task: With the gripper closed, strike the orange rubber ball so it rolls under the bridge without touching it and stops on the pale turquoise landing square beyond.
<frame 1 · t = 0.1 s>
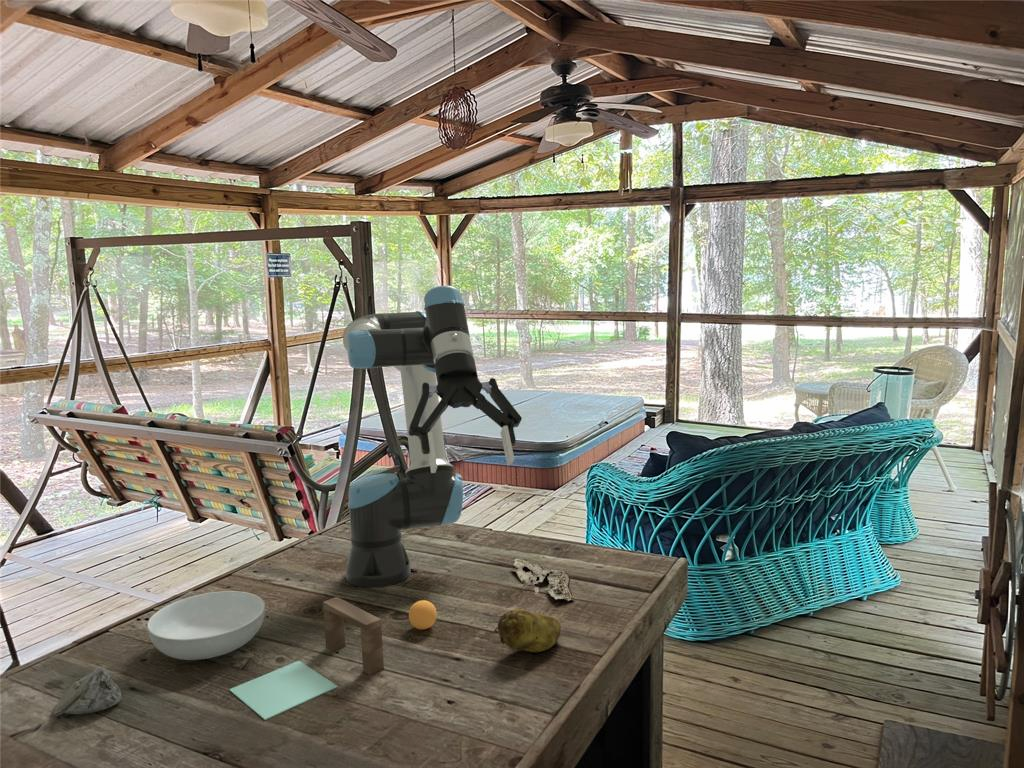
hand: (473, 466, 128), 36 cm above the table, tool tilted 35°, fingers open, 13 cm apart
ball: (422, 614, 146), on the table
potato: (531, 650, 137), on the table
serving bowl: (210, 647, 142), on the table
driftwood: (541, 585, 167), on the table
grey rock: (91, 706, 123), on the table
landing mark: (283, 688, 126), on the table
bridge: (354, 658, 136), on the table
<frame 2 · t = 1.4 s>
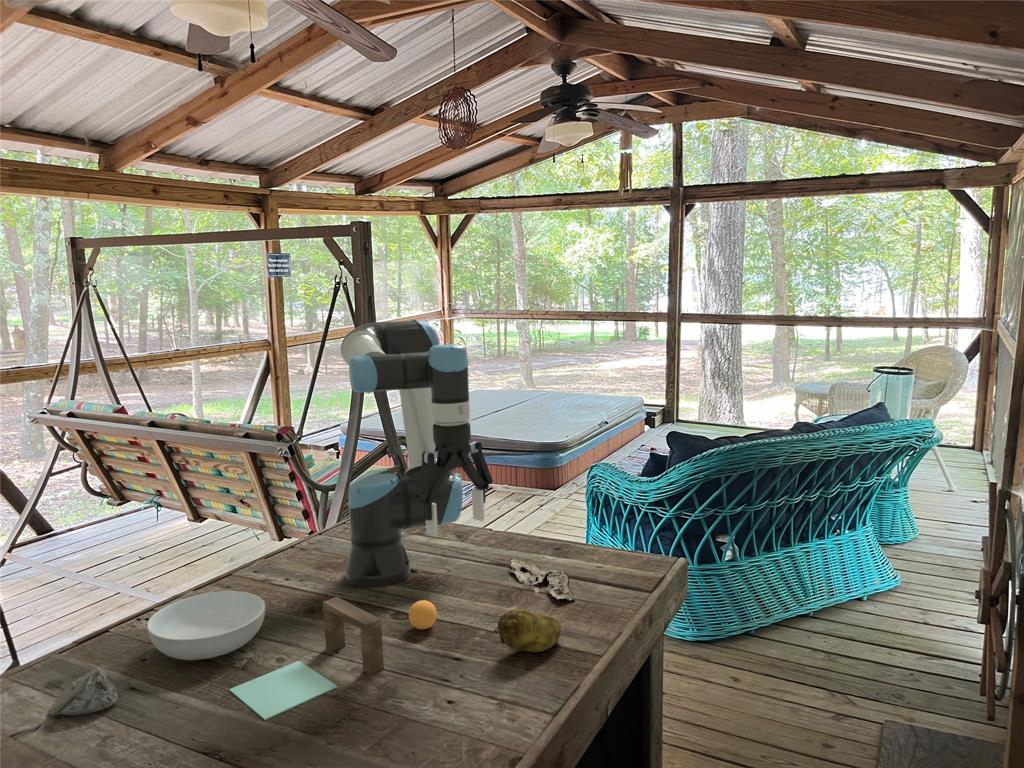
hand: (456, 527, 151), 18 cm above the table, tool pointing down, fingers open, 12 cm apart
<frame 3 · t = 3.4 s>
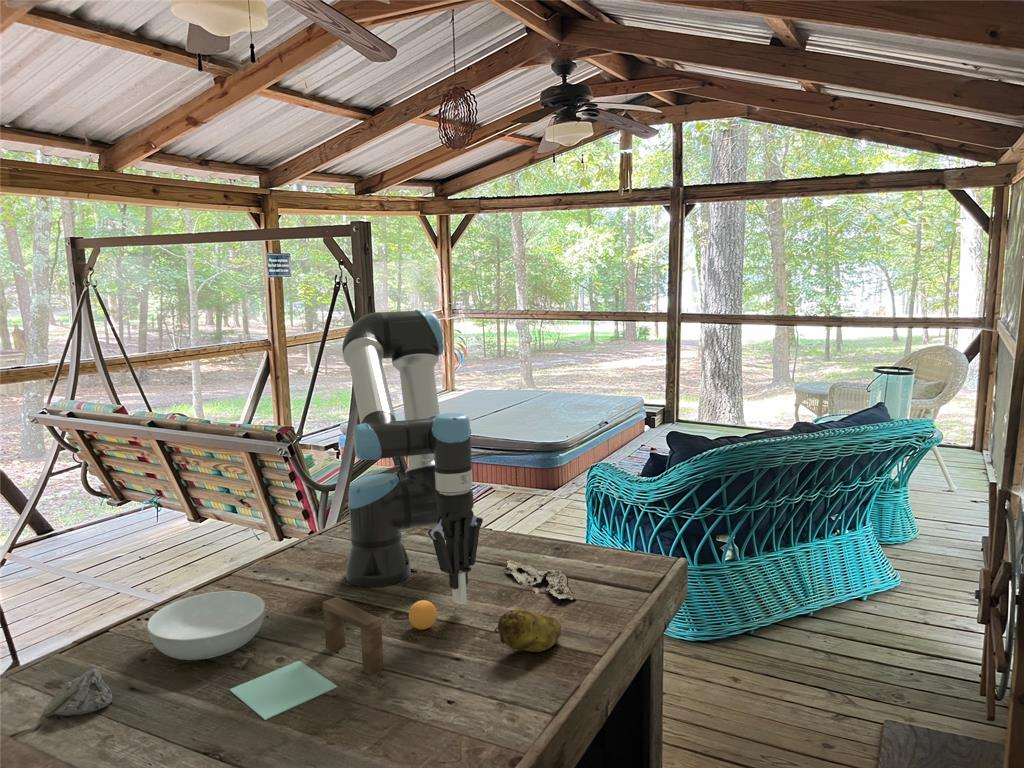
hand: (459, 601, 153), 2 cm above the table, tool pointing down, fingers closed
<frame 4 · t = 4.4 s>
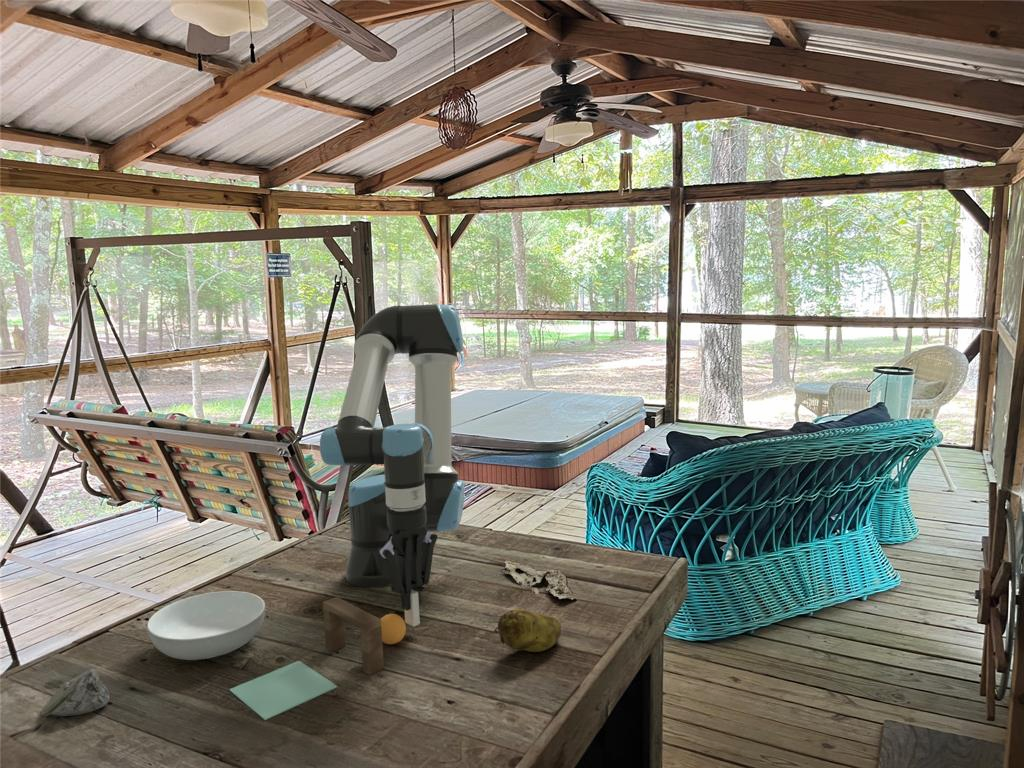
hand: (412, 623, 144), 2 cm above the table, tool pointing down, fingers closed
ball: (391, 629, 141), on the table
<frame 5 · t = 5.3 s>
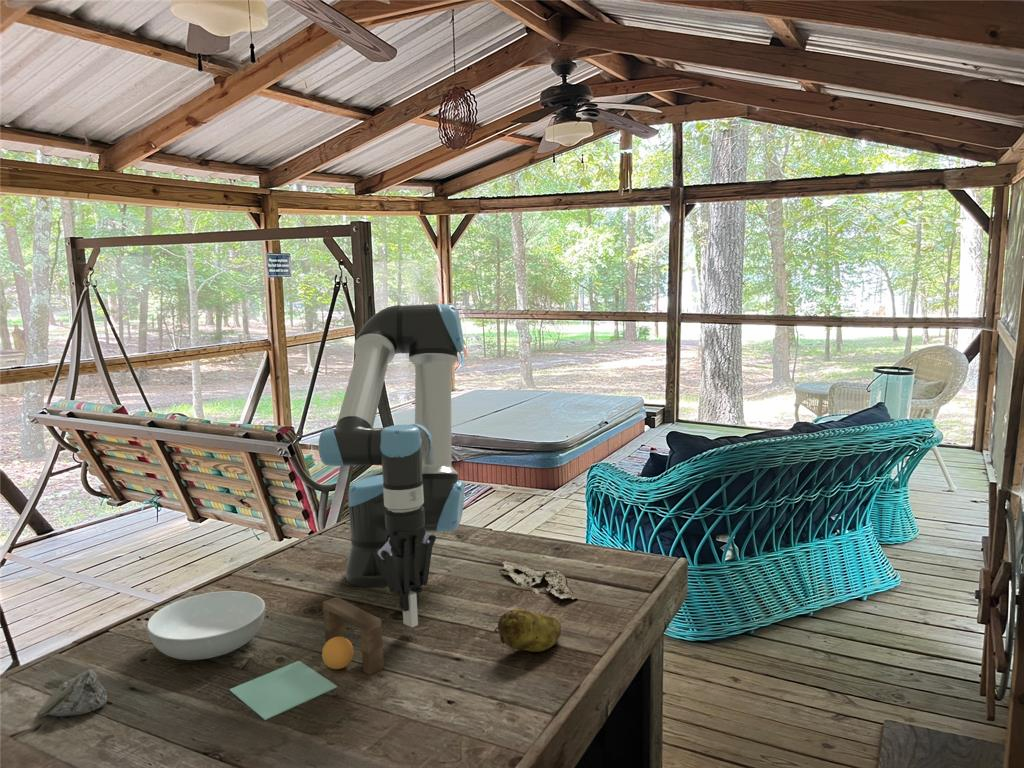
hand: (410, 624, 144), 2 cm above the table, tool pointing down, fingers closed
ball: (337, 652, 132), on the table
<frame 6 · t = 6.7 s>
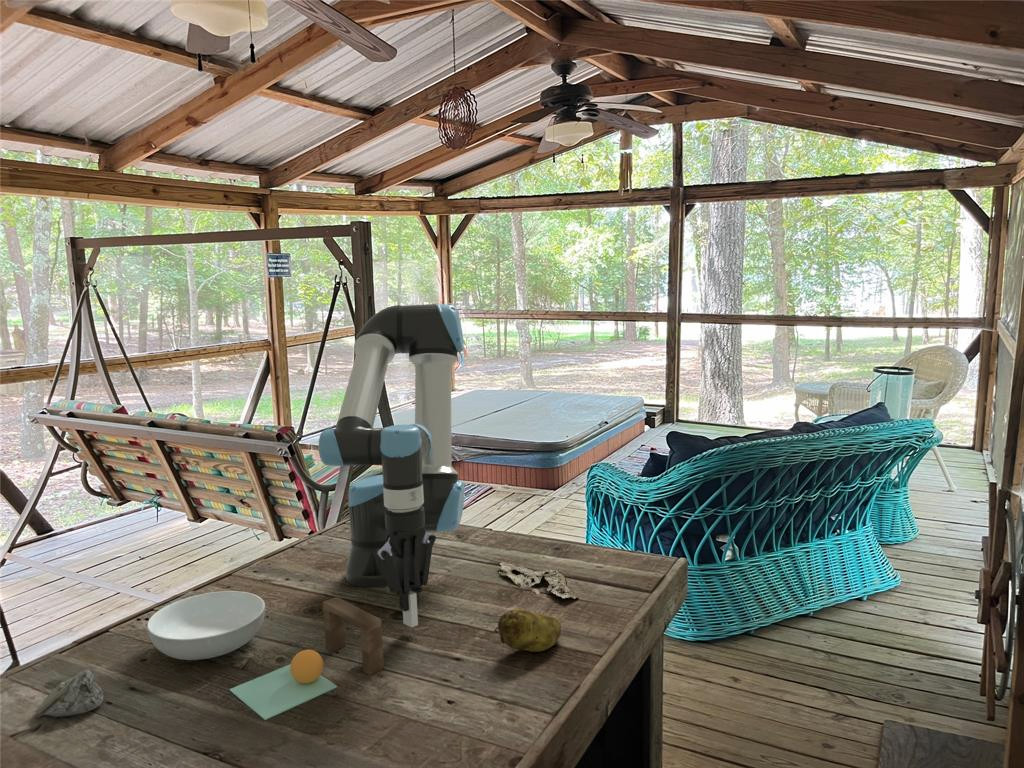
hand: (410, 624, 144), 2 cm above the table, tool pointing down, fingers closed
ball: (307, 666, 128), on the table
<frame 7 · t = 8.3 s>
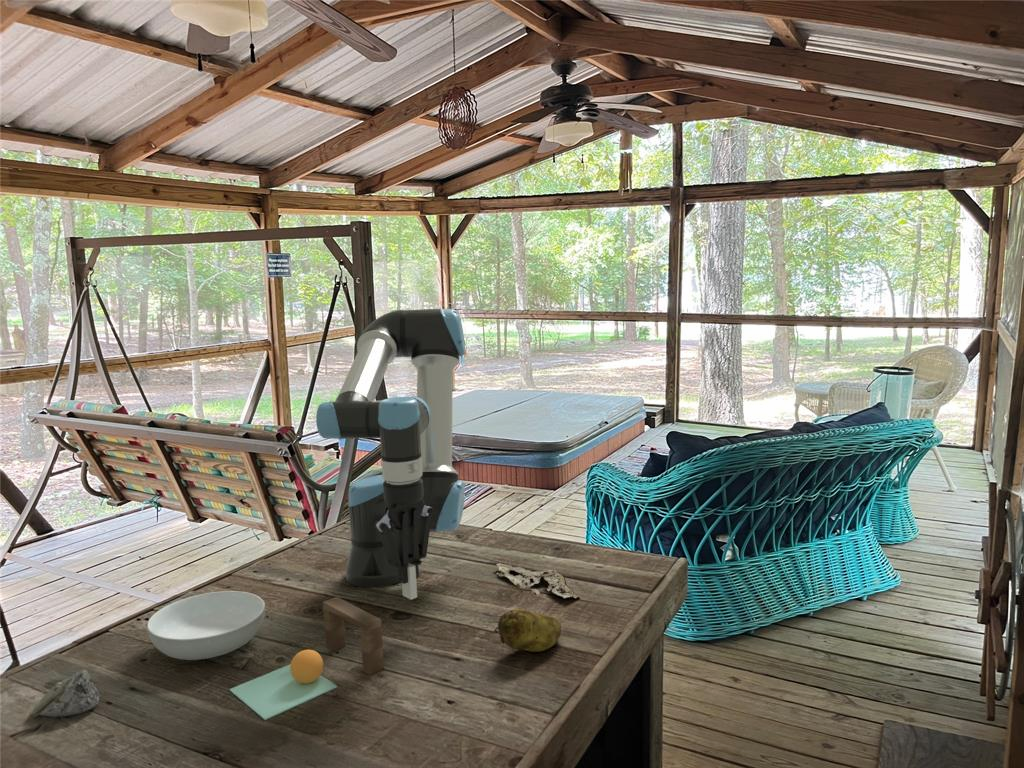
hand: (409, 596, 144), 7 cm above the table, tool pointing down, fingers closed
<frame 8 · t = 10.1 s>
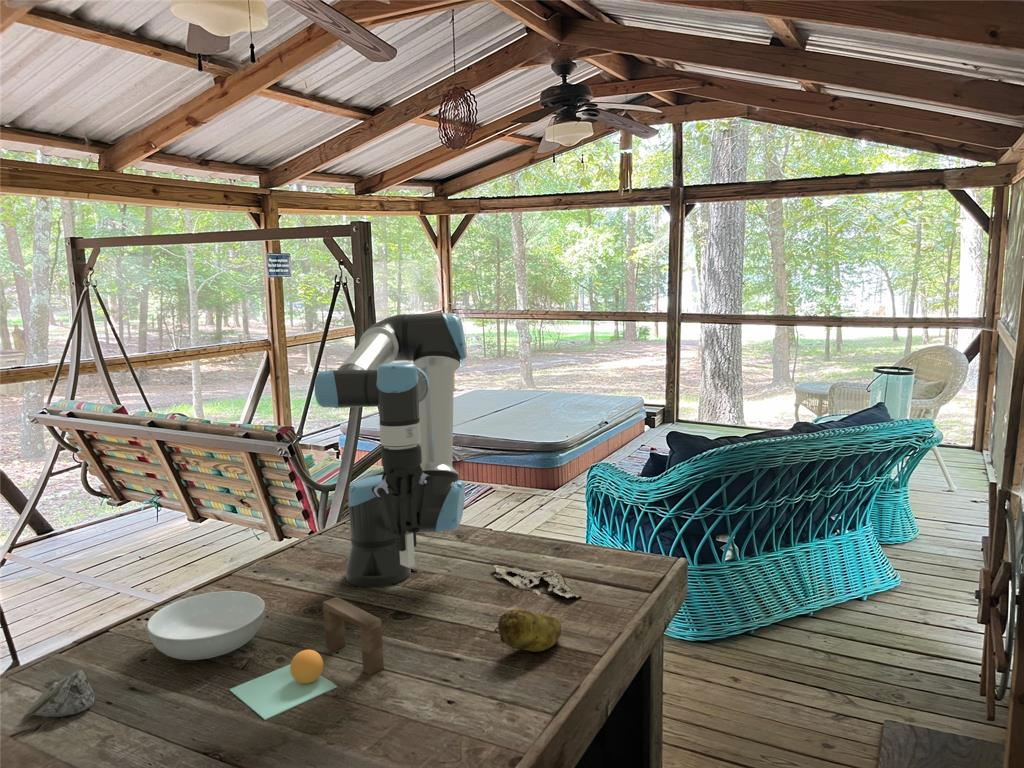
hand: (407, 564, 143), 14 cm above the table, tool pointing down, fingers closed
at the end: ball 4.2 cm from the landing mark (horizontally); ball never touched bridge; ball at rest at the end (0.0 cm/s) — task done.
